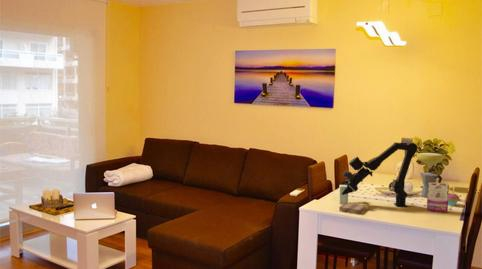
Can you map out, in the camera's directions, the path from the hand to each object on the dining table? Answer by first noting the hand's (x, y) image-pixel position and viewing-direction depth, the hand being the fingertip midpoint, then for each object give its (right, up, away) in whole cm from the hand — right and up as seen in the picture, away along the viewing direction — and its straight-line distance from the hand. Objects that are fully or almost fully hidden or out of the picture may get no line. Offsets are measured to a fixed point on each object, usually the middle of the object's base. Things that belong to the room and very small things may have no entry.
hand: (341, 192), depth 275 cm
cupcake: (+67, -7, -2) cm, 68 cm away
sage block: (+1, -7, +1) cm, 7 cm away
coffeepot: (+62, -5, +17) cm, 65 cm away
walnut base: (+3, -8, -15) cm, 18 cm away
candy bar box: (+53, -9, -15) cm, 55 cm away
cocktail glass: (+73, -2, +44) cm, 85 cm away
